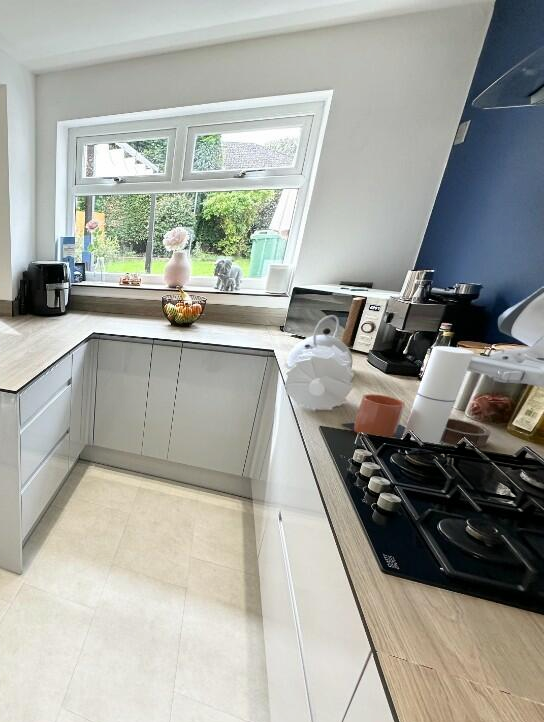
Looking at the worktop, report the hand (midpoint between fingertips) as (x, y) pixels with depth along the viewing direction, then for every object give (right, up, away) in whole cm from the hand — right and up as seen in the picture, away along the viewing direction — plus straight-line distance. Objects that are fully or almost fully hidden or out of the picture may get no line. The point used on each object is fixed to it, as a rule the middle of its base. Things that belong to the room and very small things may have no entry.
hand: (476, 370), depth 104 cm
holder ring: (0, -18, +5) cm, 19 cm away
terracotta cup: (-20, -17, +8) cm, 28 cm away
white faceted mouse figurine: (-21, -10, +31) cm, 38 cm away
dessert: (-9, -17, +26) cm, 33 cm away
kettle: (+6, +3, +66) cm, 66 cm away
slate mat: (-16, -18, +6) cm, 25 cm away
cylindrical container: (-11, -19, +3) cm, 22 cm away
